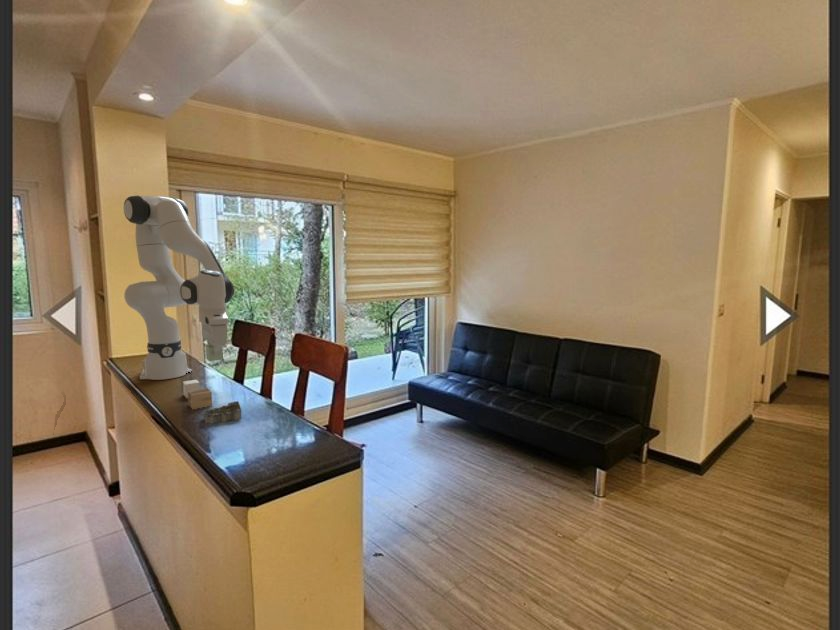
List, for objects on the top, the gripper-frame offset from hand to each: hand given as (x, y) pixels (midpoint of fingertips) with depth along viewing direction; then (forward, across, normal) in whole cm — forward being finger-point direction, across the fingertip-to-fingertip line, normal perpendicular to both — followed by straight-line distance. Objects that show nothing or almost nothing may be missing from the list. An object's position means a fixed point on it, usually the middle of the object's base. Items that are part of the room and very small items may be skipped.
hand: (214, 354), depth 160 cm
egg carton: (+14, +29, -5) cm, 32 cm away
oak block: (+14, +12, -8) cm, 20 cm away
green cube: (+2, 0, 0) cm, 2 cm away
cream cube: (+14, -1, -8) cm, 16 cm away
